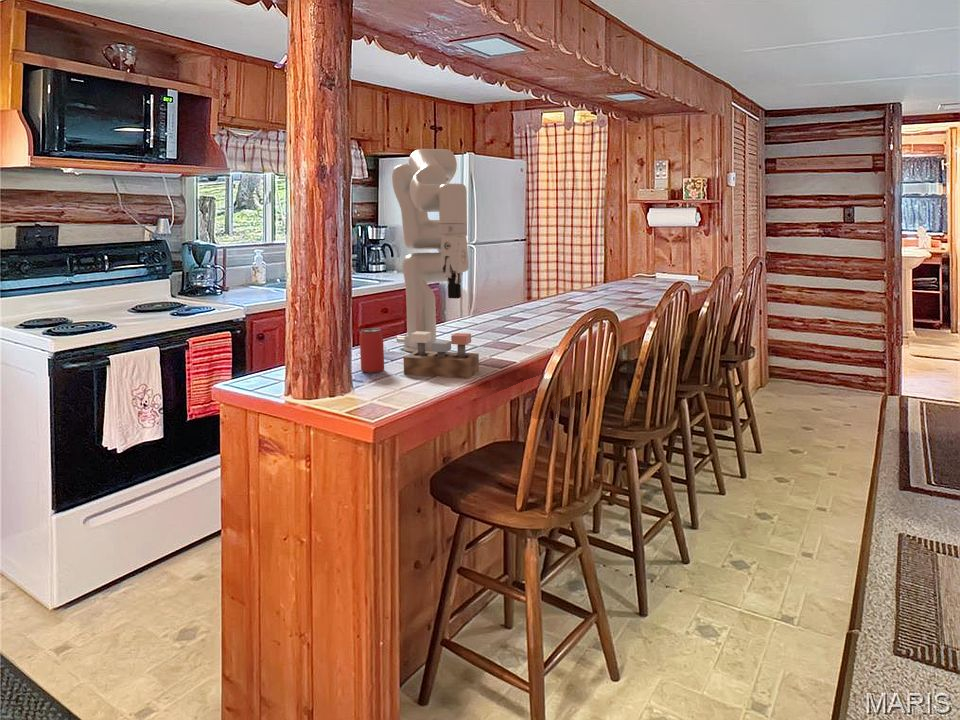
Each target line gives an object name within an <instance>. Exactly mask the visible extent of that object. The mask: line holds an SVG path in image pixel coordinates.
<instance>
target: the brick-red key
mask: <svg viewBox="0 0 960 720" xmlns="http://www.w3.org/2000/svg"><path fill="white" fill-rule="evenodd" d="M450 337H451V339H450V341H451V345H456V346H457V353H458V358H466V356H465V353H466V346H468V345H469V344H470V343H472V333H465V332H464V333H462V332H461V333H460V332H456V333H454V334H452V335H451V336H450Z"/></svg>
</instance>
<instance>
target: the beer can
mask: <svg viewBox="0 0 960 720" xmlns="http://www.w3.org/2000/svg"><path fill="white" fill-rule="evenodd" d="M359 349H360V351H359V352H360V353H359V354H360V368H361V369H360V370H361V371H362V373H363V372H364V373H365V372H367V373H366V374H376V373H377V372H378V373H381V372H383V371H384V370H385V356H384V355H385V353H384V352H385V351H384V336H383V333H382V330H381V328H377V327H375V328H374V327H373V328H372V327H371V328H370V327H369V328H363V329H361V332H360V336H359ZM378 373H377V374H378Z"/></svg>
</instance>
